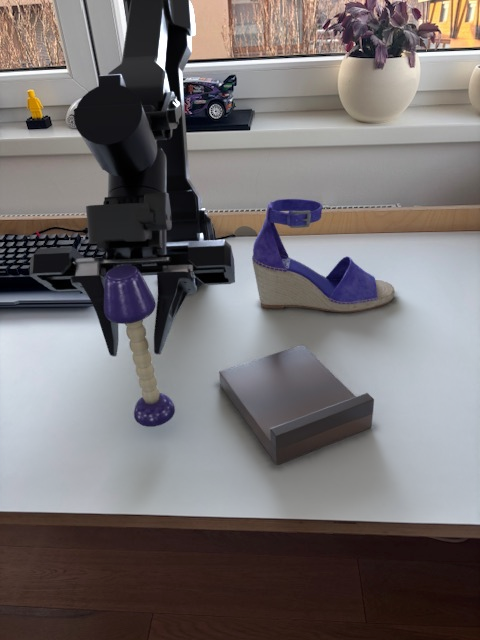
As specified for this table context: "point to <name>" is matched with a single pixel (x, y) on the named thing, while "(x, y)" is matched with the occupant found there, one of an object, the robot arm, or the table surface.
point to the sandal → (309, 269)
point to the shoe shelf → (295, 403)
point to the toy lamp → (137, 338)
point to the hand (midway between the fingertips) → (135, 354)
